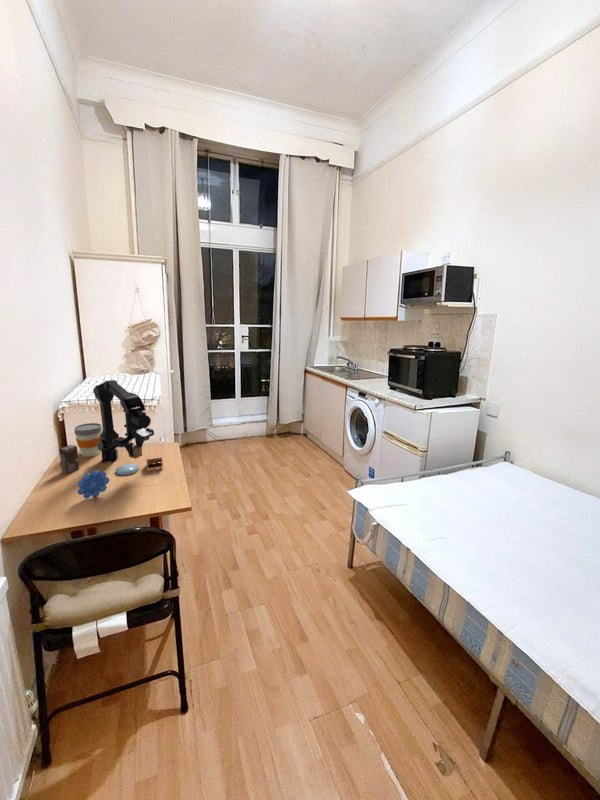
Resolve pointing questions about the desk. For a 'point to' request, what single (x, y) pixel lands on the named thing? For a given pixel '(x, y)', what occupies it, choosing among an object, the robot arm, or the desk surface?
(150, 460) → the container
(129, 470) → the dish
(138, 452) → the block
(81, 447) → the reusable coffee cup
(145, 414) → the robot arm
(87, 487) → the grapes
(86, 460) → the desk surface
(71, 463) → the box
